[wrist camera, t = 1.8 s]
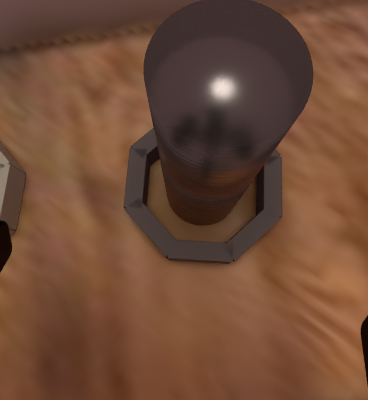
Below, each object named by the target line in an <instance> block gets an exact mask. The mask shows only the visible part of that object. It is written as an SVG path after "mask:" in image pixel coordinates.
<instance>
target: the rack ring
mask: <svg viewBox="0 0 368 400" xmlns="http://www.w3.org/2000/svg"><path fill="white" fill-rule="evenodd" d="M25 178H26V175H25V172H24V170H23V169H22V168H21V167H20V166H19V164H18V163H17V162H16V161H15V159H14V158H13V157H12V156H11V154H10V153H9V152H8V151H7V150H6V148H5V147H4V146H3V145H2V143H1V142H0V220H3V221H5V222H7V224H8V226H9V231H10V236H11V235H12V234H13V233H14V232H15V231H14V230H16V229H17V224H18V218H19V212H20V207H21V201H22V195H23V190H24V184H25Z"/></svg>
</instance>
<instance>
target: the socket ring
mask: <svg viewBox="0 0 368 400" xmlns="http://www.w3.org/2000/svg"><path fill="white" fill-rule="evenodd" d="M280 155H281V154H280V153H278V152H277V151H276V150H274V151H273V153H272V154H271V156H270V157H269V158H268V160H267V161H266V163H265V164H264V165H263V167H262V168H261V170H260V171H259V172H258V174H257V200H256V217H254V218H253V219H252V220H251V221H250V222H249V223H248V224H247V225H246V226H245V227H244V228H242V229H241V230H240V231H239V232H238V233H237V234H236V235H235V236H234V237H233V238H231V239H230V240H229V241H228V242H227V243H219V242H202V241H186V240H175V239H174V238H173V237H172V236H171V234H170V233H169V232H168V231H167V230H166V229H165V228H164V226H163V225H162V224H161V223H160V222H159V221H158V220H157V218H156V217H155V216H154V215H153V214H152V213H151V212H150V210H149V209H148V208H147V207H146V204H147V192H148V181H149V170H150V165H152V164H153V163H154V162H155V161H156V160H158V159H159V158H160V157H159V152H158V147H157V142H156V137H155V132H154V128H153V129H152V130H150V131H149V132H148V133H147V134H145V135H144V136H143V137H142V138H140V139H139V140H138V141H137V142H135V143H134V144H133V145H132V146H131V148H130V151H129V160H128V170H127V179H126V189H125V199H124V208H125V211H126V212H127V213H128V214H129V215H130V216H131V218H132V219H133V220H134V221H135V222H136V223H137V224H138V226H139V227H140V228H141V229H142V230H143V231H144V233H145V234H146V235H147V236H148V237H149V238H150V240H151V241H152V242H153V243H154V244H155V245H156V247H157V248H158V249H159V250H160V251H161V252H162V253H163V255H164V256H165V257H166V258H167V259H169V260H177V261H194V262H210V263H226V264H228V263H231V262H234V261H236V260H237V259H238V258H239V257H240V256H241V255H242V254H244V253H245V252H246V251H247V250H248V249H249V248H250V247H251V246H252V245H253V244H254V243H255V242H256V241H258V240H259V239H260V238H261V237H262V236H263V235H264V234H265V233H266V232H267V231H268V230H269V229H270V228H272V227H273V226H274V225H275V224H276V223H277V222H278V221H279V220H280V219H281V218H280V217H282V157H279V156H280Z"/></svg>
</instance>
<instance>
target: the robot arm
mask: <svg viewBox="0 0 368 400" xmlns="http://www.w3.org/2000/svg"><path fill="white" fill-rule="evenodd" d="M11 252H12V243H11V237H10V231H9V226H8V224H7V222H5V221H3V220H0V272H1V271H2V269H3V267H4V266H5V264H6V262H7V260H8V259H9V257H10V255H11ZM361 340H362V347H363V355H364V362H365V370H366V377H367V385H368V316H367V317H366V318H365V320H364V321H363V323H362V326H361Z"/></svg>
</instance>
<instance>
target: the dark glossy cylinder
mask: <svg viewBox="0 0 368 400" xmlns="http://www.w3.org/2000/svg"><path fill="white" fill-rule="evenodd" d="M144 81H145V87H146V92H147V97H148V102H149V107H150V112H151V117H152V122H153V127H154V132H155V137H156V142H157V147H158V152H159V157H160V162H161V167H162V172H163V177H164V182H165V187H166V192H167V197H168V201H169V203H170V206H171V207H172V209H173V211H174V212H175V213H176V214H177V215H178V216H179V217H180V218H181V219H183V220H185V221H186V222H189V223H191V224H195V225H210V224H214V223H216V222H219V221H220V220H222V219H224V218H225V217H226V216H227V215H228V214H229V213H230V212H231V210H232V209H233V208H234V206H235V205H236V203H237V202H238V201H239V199H240V198H241V196H242V195H243V194H244V192H245V191H246V189H247V188H248V187H249V185H250V184H251V182H252V181H253V179H254V178H255V177H256V175H257V174H258V172H259V171H260V170H261V168H262V167H263V165H264V164H265V163H266V161H267V160H268V158H269V157H270V156H271V154H272V153H273V151H274V150H275V149H276V147H277V146H278V144H279V143H280V142H281V140H282V139H283V137H284V136H285V135H286V133H287V132H288V130H289V129H290V128H291V126H292V125H293V123H294V122H295V121H296V119H297V118H298V116H299V115H300V114H301V112H302V111H303V109H304V107H305V105H306V103H307V101H308V99H309V96H310V93H311V89H312V84H313V66H312V60H311V56H310V53H309V50H308V48H307V45H306V43H305V41H304V40H303V38H302V36H301V35H300V33H299V32H298V31H297V30H296V28H295V27H294V26H293V25H292V24H291V23H290V22H289V21H288V20H287V19H286V18H284V17H283V16H282V15H280V14H279V13H277V12H276V11H274V10H273V9H271V8H269V7H267V6H265V5H262V4H260V3H257V2H254V1H251V0H201V1H198V2H195V3H192V4H190V5H187V6H186V7H183V8H182V9H180V10H178V11H177V12H175V13H174V14H172V15H171V16H170V17H169V18H167V19H166V20H165V21H164V22H163V23H162V24H161V26H160V27H159V28H158V29H157V31H156V32H155V33H154V35H153V37H152V39H151V41H150V43H149V45H148V48H147V51H146V54H145V59H144Z"/></svg>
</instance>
